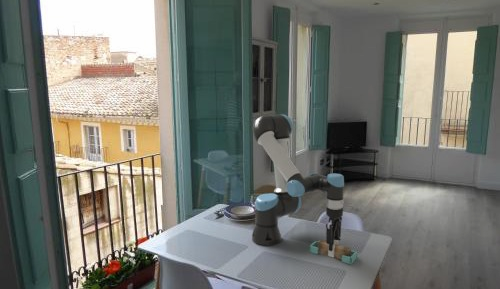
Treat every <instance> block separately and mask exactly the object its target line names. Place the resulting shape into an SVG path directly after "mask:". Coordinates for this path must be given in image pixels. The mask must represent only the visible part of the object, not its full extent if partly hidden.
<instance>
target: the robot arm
mask: <svg viewBox="0 0 500 289" xmlns="http://www.w3.org/2000/svg"><path fill="white" fill-rule="evenodd" d="M293 131H294V125H293V121H292V119H291V118H290V117H289V116H287V115H286V114H279V113H278V114H269V115H267V114H266V115H265V114H263V115H261V116H259V117H258V118H256V120H255V121H254V122H253V125H252V134H253V137H254V140H255V141H256V143H257V144H258V145H259V146H260V145H261V146H262V147H263V150H264V151H265V152H266V154H267V155H268V156H269V157H270V159H271V161H272V162H273V170H274V179H275V188H274V190H273V193H262V194H260V195H257V197H256V199H255V204H254V208H255V210H254V212H255V215H254V216H255V226H254V228H253V232H252V233H251V234H252V235H251V240H252V242H253V243H254V244H256V245H259V246H275V245H277V244H279V243H280V242H281V241H282V235H281V231H280V228H279V218H283V217H285V216H289V215H293V214H295V213H297V212H298V211H299V210H300V208H301V207H302V198H301V196H304V195H308V194H311V193H315V192H323V193H325V194H326V204H325V205H326V211H325V213H326V216H328V223H326V224H325V228H326V229H325V231H326V232H325V234H326V237H325V239H326V240H325V241H326V243H327V244H329V246H328V255H327V256H328V257H330V258H335V257H334V250H335V244H337V245H339V241H341V236H342V235H341V232H342V220H343V216H344V215H343V214H344V204H345V201H344V190H345V178H344V177H345V176H344V175H343V174H341V173H335V172H334V173H333V172H331V173H329V174H327V176H326V175H322V174H319V173H313V172H312V173H309V174H308V175H307V176H306V177H304V176H303V174H301V173H300V171H299V170H298V168H297V167H296V165H295V164H294V163H293V161H292V159H291V158H290V155H289V147H288V146H289V145H288V142H289V141H290V138H291V137H290V135H291V134H292V132H293Z"/></svg>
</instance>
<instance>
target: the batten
mask: <svg viewBox="0 0 500 289" xmlns="http://www.w3.org/2000/svg"><path fill="white" fill-rule="evenodd" d="M318 241H319V242H318V247H317V248H318V254H319V253H320V254H322V255H325V256H328V246H329V244H327V243H326V240H323V239H320V240H318ZM351 250H352V248H351V247H347V246H343V245H340V244H338V245H337V244H335V250H334V258H335V259H338V260H341V261H342V255H345V256H348V257H350V255H351Z"/></svg>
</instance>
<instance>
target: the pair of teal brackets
mask: <svg viewBox="0 0 500 289" xmlns="http://www.w3.org/2000/svg"><path fill="white" fill-rule="evenodd" d="M319 241H320V240H315V241H314V242H312V243H311V244H310V245H309V247H308V248H309V249H308V252H309V253H312V254H315V255H318V254H319V253H318V242H319ZM357 259H358V251H355V250H352V249H351V255H350V257H348V256H345V255H342V260H341V263H345V264H348V265H352V264H353V263H354V262H355V260H357Z"/></svg>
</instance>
